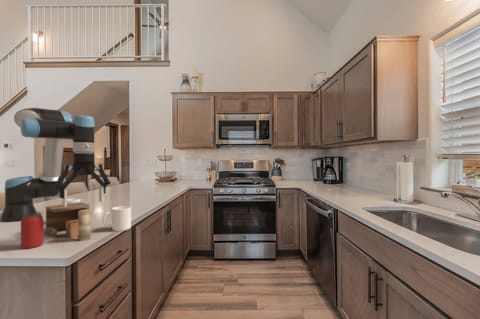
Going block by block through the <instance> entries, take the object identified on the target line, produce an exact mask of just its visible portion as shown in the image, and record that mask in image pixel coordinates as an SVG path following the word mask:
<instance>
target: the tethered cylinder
mask: <svg viewBox="0 0 480 319" xmlns="http://www.w3.org/2000/svg"><path fill="white" fill-rule="evenodd" d="M65 230H66V231H65V235H66V237H68V238H70V239H74V238H78V241H79V242H85V241H88V240H90V239H91V209H89V210H88V209H87V210H80V211H78V220H73V221H68V222H66V229H65Z"/></svg>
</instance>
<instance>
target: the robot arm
mask: <svg viewBox="0 0 480 319" xmlns="http://www.w3.org/2000/svg"><path fill="white" fill-rule="evenodd" d="M13 120H14V123H15V124H16V125H17V126H18V127H19V128H20V134H21V136H22V137H24V138H31V139H37V138H38V139H45V142H44V150H43V161H42V169H41V170H42V171H41V173H39V174H38V177H37V178H34V177H33V176H32V175H26V176H25V175H24V176H19V177H13V178H9V179H7V180H5V181H4V188H3V189H4V208H3V211H2V213H1V214H0V222H3V223H5V222H8V223H9V222H21V220H22V218H23V216H24V215H28V214H38V211H37V210H36V208H35V205H34V199H39V198H42V199H43V198H49V197H50V198H51V197H52V198H54V197H59V198H60V199H62V200H61V205H62V206H64V207H67V199H68V189H67V187H68V186H69V185H70V184H71V183H72V182H73V181H74V180H75V179H76V177H78V176H80V177H81V176H91V177H92V178H93V179H94V180H95V181H96V182H97V183H98V184H99V185H100V186H98V197H99V198H98V201H99V202H101V203H102V202H103V203H104V194H106V193H107V192H106V190H107V188H106V187H108V186H110V185H111V181H110V179H109V178H108V176H107V174H106V172H105V170H104V168H103V163H102V164H101V163H98V164H95V153H94V152H95V126H96V125H95V119H94V117H93V116H90V115H82V114H78V115H77V114H76V115H73V116H72V115H71V113H70V112H68V111H65V110H59V109H49V108H48V109H47V108H39V107H27V108H23V109H22V108H21V109H20V110H18V111H17V112H15V114H14V116H13ZM65 140H72V152H73V154H72V165H69V164H63V168H62V162H63V157H64V156H63V155H64V146H65V145H64V144H65ZM71 169H72V173H71V174H70V176H68V177H67V175H68V173H69V172H70V171H71ZM95 169H96V170H97V171H98V173H99V175H100V176H98V174H97V173H96V172H95V171H94V170H95ZM66 177H67V179H66ZM100 177H101V178H100Z"/></svg>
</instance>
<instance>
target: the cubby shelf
mask: <svg viewBox="0 0 480 319" xmlns="http://www.w3.org/2000/svg"><path fill="white" fill-rule="evenodd" d="M87 209H88V210H90V204H88V203H84V202H77V203H70V204H67V207H64V206H62V204H54V205H49V206H45V232H46V233H47V234H49V236H52V238H53V237H58V231H60V230H66V222H68V221H73V220H78V211H80V210H87Z"/></svg>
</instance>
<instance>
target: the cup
mask: <svg viewBox="0 0 480 319" xmlns="http://www.w3.org/2000/svg"><path fill="white" fill-rule="evenodd" d="M108 215H111V223H110V224H108V223H107V222H106V221H107V216H108ZM102 223H103V226H105V227H106V228H111V230H112V231H113V232H124V231H128V230H130V229H131V228H132V206H129V205H122V206H121V205H120V206H114V207H112V208H111V211H107V212H105V213H104V214H103V218H102Z"/></svg>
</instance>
